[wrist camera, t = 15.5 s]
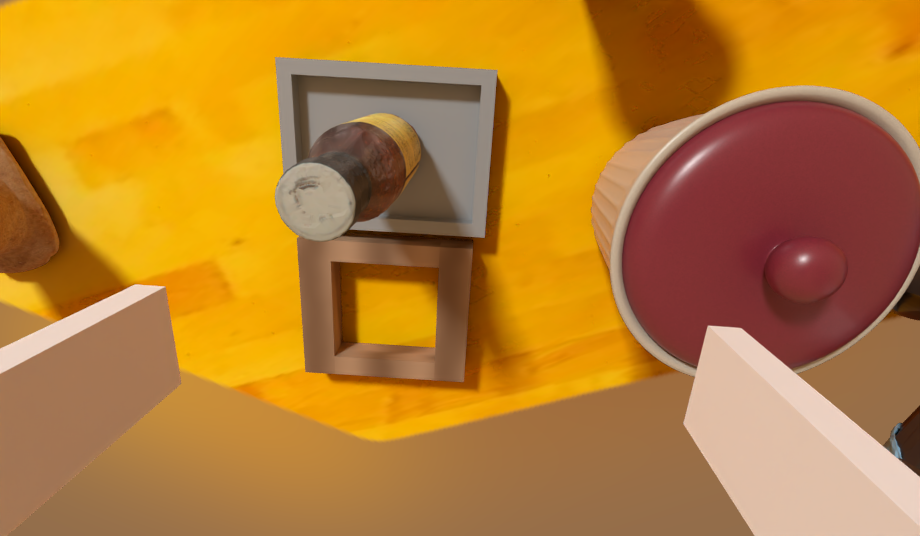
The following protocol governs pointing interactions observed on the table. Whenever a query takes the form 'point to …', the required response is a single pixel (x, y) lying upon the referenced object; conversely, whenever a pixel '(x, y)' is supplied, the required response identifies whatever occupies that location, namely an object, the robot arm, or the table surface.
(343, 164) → the sauce bottle
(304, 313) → the bottle stand
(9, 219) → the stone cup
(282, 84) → the tray
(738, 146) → the canister
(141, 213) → the table surface
